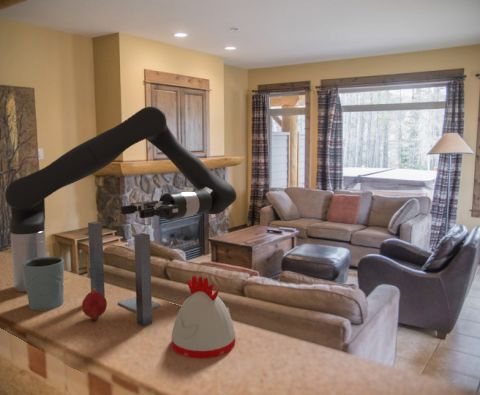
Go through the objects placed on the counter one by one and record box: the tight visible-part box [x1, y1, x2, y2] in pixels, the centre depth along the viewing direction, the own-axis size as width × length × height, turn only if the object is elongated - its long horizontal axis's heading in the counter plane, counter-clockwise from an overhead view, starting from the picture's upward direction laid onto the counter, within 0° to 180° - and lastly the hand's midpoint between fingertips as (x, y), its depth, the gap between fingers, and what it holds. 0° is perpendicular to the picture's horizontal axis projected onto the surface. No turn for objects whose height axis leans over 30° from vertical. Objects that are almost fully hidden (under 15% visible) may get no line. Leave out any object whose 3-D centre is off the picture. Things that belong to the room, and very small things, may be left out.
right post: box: [133, 232, 153, 328], centre depth 106 cm, size 3×3×22 cm
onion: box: [81, 289, 108, 321], centre depth 109 cm, size 6×6×8 cm
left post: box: [87, 221, 106, 298], centre depth 121 cm, size 3×3×22 cm
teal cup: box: [23, 256, 65, 311], centre depth 119 cm, size 10×10×12 cm
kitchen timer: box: [171, 275, 236, 359], centre depth 97 cm, size 14×14×15 cm
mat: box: [117, 296, 162, 314], centre depth 119 cm, size 10×7×1 cm
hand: (130, 212), depth 115 cm, fingers open, 8 cm apart
